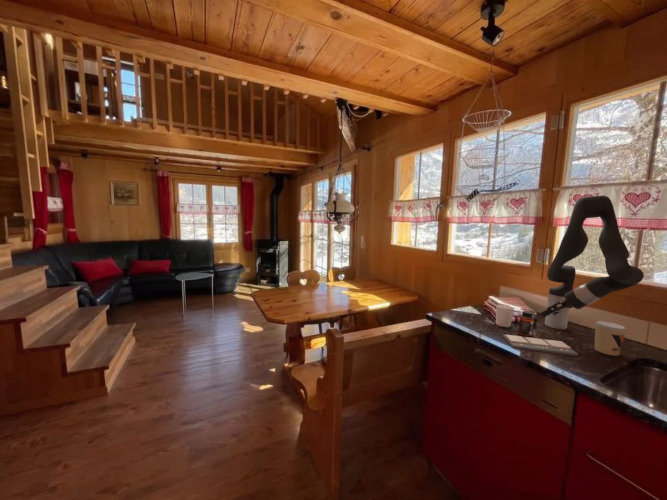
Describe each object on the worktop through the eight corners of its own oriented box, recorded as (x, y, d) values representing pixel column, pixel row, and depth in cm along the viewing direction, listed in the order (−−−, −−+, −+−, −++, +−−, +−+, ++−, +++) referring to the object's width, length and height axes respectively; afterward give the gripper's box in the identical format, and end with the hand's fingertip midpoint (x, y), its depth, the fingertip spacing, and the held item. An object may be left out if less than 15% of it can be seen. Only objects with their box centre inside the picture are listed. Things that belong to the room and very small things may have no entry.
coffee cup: (615, 358, 115) (619, 330, 113) (587, 348, 123) (591, 322, 122) (626, 354, 118) (630, 327, 117) (598, 345, 127) (602, 319, 126)
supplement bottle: (534, 337, 132) (537, 314, 131) (520, 336, 133) (523, 313, 132) (528, 332, 138) (531, 310, 137) (515, 331, 139) (518, 309, 138)
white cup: (495, 321, 153) (497, 303, 152) (512, 324, 149) (514, 306, 148) (493, 325, 147) (495, 306, 146) (511, 329, 142) (513, 310, 141)
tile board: (502, 336, 132) (503, 333, 131) (561, 344, 126) (561, 340, 126) (512, 347, 120) (513, 344, 120) (577, 356, 115) (578, 352, 114)
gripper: (583, 287, 121) (550, 305, 132) (567, 289, 114) (533, 308, 126) (597, 302, 117) (561, 319, 128) (581, 305, 110) (544, 323, 122)
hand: (547, 314), depth 127 cm, fingers open, 8 cm apart
